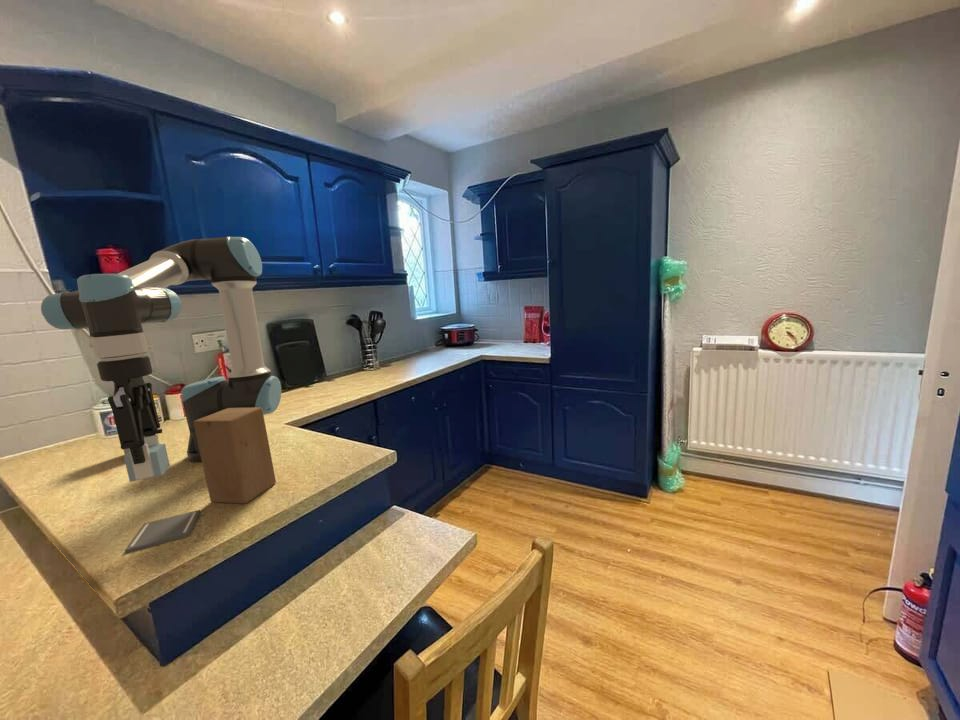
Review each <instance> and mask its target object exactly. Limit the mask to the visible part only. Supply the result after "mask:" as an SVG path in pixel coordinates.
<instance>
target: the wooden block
mask: <svg viewBox="0 0 960 720" xmlns="http://www.w3.org/2000/svg"><path fill="white" fill-rule="evenodd" d="M193 424H194V428H195V433H196V437H197V442H198V446H199V451H200V455H201V460H202V462H201V463H202V468H203V474H204V476H205V477H204V479H205V481H206V487H207V491H208V495H209V499H210V502H211V503H222V504H223V503H224V504H248V503H249V502H250V501H253V499H255V498H257V497H258V496H259V495H261V494H263V493H264V492H265V491H266V490H268V489H269V488H271V487H272V486H273V485H275V484H276V482H277V481H276V480H277V479H276V475H275V470H274V465H273V458H272V453H271V448H270V442H269V438H268V437H269V436H268V433H267V432H268V431H267V427H266V421H265V415H263V410H262V408H261V407H252V408H227V409H224V410H222V411H219V412H216V413H214V414H211V415H208V416H206V417H203V418H200V419H198V420H195V421H194V422H193Z"/></svg>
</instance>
